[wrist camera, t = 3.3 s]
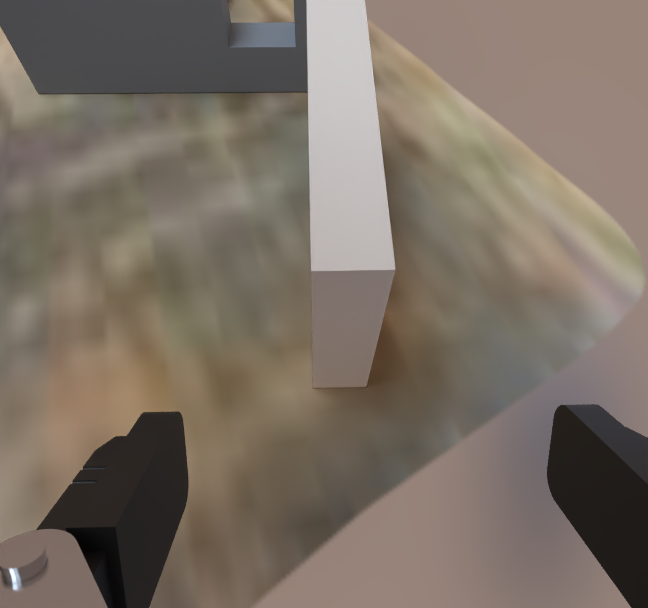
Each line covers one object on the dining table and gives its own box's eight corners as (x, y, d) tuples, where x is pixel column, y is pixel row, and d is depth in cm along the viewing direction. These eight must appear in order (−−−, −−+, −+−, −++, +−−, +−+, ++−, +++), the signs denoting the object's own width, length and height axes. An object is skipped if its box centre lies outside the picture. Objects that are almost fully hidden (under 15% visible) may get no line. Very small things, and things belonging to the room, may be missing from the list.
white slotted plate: (366, 386, 24) (395, 269, 15) (312, 388, 24) (311, 271, 15) (348, 142, 32) (361, -28, 23) (308, 142, 32) (305, -28, 23)
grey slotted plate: (38, 93, 33) (-24, -18, 27) (47, 69, 35) (-11, -42, 29) (341, 91, 34) (346, -18, 28) (340, 67, 35) (344, -43, 29)
